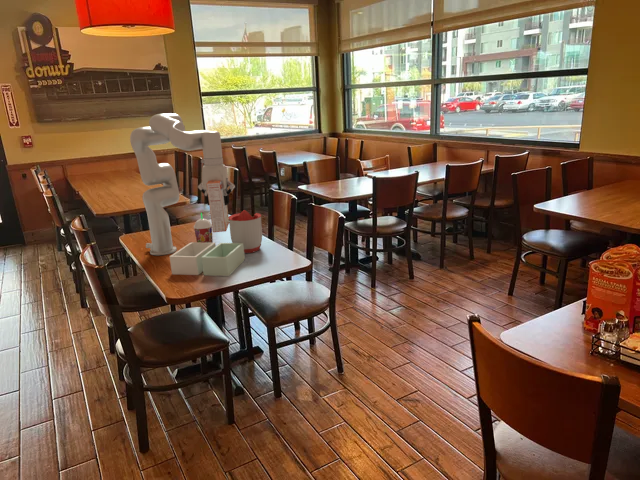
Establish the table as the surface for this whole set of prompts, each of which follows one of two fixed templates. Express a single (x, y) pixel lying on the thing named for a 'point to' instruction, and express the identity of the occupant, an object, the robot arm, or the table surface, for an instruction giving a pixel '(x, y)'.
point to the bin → (223, 259)
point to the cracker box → (217, 206)
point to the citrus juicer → (246, 230)
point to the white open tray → (190, 258)
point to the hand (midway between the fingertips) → (218, 204)
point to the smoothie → (203, 230)
